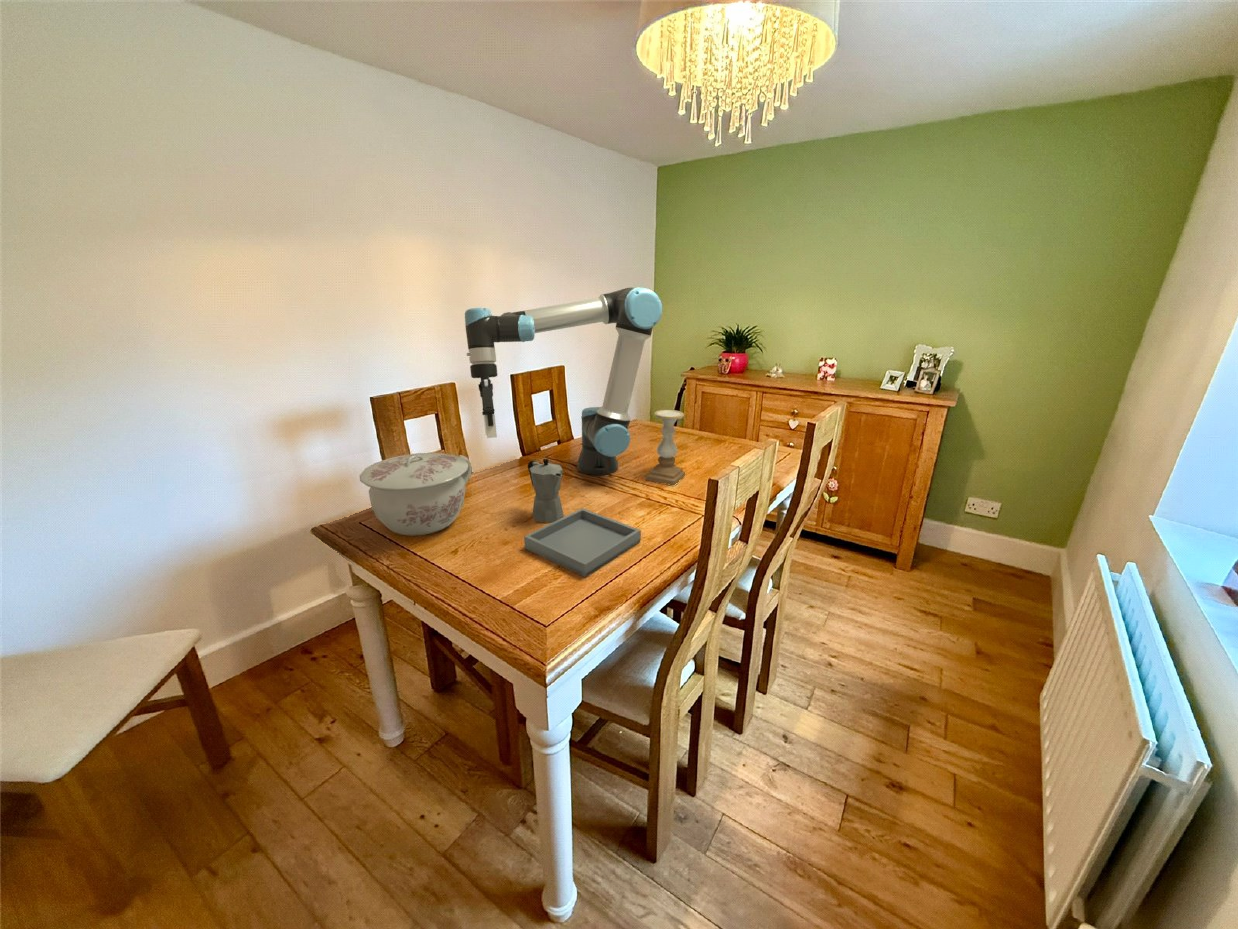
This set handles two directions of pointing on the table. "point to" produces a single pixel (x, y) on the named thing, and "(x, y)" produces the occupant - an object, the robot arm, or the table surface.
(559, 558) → the charcoal dish
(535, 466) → the coffeepot
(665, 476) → the candle holder
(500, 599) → the table surface
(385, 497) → the chamber pot
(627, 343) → the robot arm
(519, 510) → the table surface
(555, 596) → the table surface
